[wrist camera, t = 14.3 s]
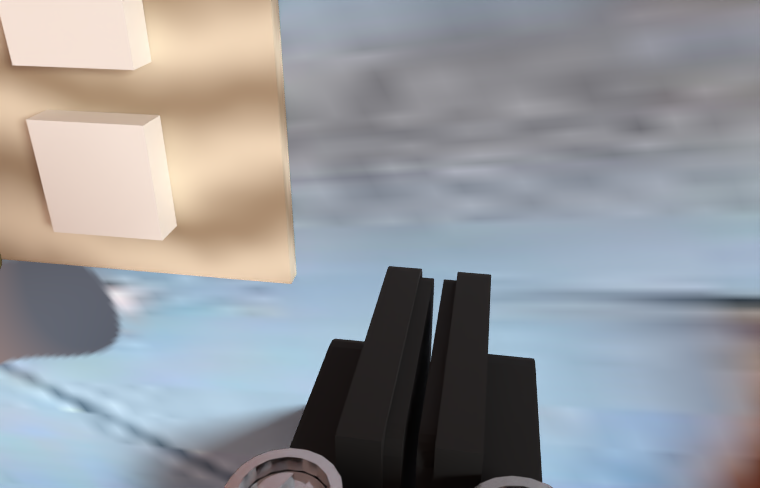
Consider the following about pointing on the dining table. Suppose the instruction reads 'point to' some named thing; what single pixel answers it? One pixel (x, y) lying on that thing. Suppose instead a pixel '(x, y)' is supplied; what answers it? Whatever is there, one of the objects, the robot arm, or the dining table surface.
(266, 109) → the birch board
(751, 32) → the dining table surface
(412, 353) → the robot arm
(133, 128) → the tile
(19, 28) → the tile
